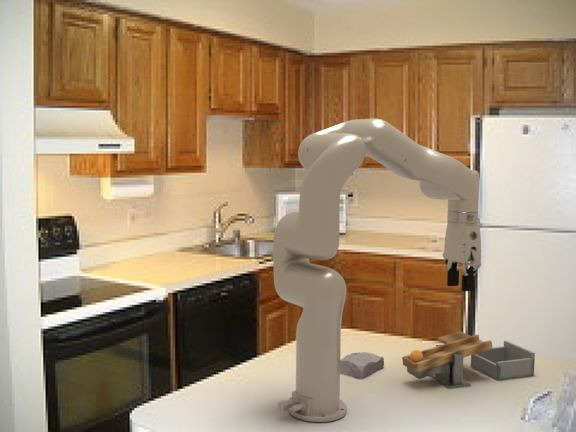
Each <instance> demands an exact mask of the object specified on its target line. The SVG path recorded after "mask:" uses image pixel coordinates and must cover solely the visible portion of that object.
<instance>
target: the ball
mask: <svg viewBox="0 0 576 432" xmlns="http://www.w3.org/2000/svg"><path fill="white" fill-rule="evenodd" d="M421 351H422V350H421ZM421 351H420V350H419V349H413V350H412V351H411V352H410V353H409V355H410V359H411V360H412V361H414V362H415V363H417V362H420V361H422V360H423V354H422V352H421Z"/></svg>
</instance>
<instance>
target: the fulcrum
mask: <svg viewBox="0 0 576 432" xmlns="http://www.w3.org/2000/svg"><path fill="white" fill-rule="evenodd" d="M443 344H444V343H442V344H436V345H435V347H437V346H440V345H443ZM440 369H441V373H438V374H435V375H432V376H429V377H430V378H431V379H433V380H434V381H436V382H438V383H439V384H441V385H443V386H444V387H446V388H447V389H449V390H451V389H458V388H466V387H467V388H468V387H471V386H472V383H471V382H469V381H467V380H466V379H464V378H463V375H464V358H463V354H462V353H458V354H453V361H452V362H448V363H445V364H442V365H440Z"/></svg>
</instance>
